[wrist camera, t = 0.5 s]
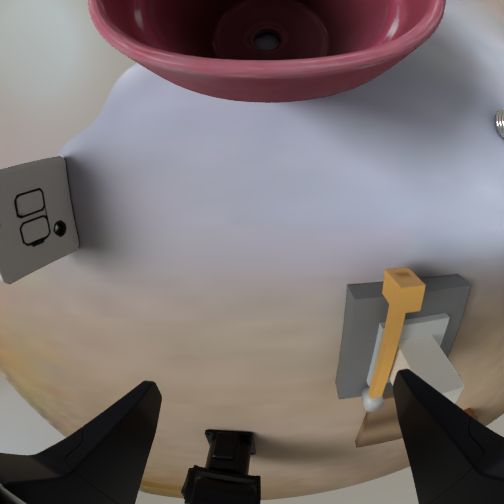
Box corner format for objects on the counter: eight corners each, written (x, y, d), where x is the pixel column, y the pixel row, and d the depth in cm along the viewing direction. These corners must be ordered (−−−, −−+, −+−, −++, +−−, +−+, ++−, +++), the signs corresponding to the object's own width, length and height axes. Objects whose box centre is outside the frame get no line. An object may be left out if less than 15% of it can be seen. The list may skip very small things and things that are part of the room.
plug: (418, 354, 24) (453, 421, 15) (361, 364, 25) (384, 442, 15) (434, 300, 22) (487, 365, 12) (371, 308, 22) (411, 388, 13)
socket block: (430, 366, 25) (437, 380, 22) (335, 382, 26) (338, 399, 24) (457, 274, 21) (471, 285, 18) (347, 284, 22) (354, 299, 20)
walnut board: (424, 425, 29) (426, 430, 28) (355, 441, 31) (356, 447, 29) (452, 374, 25) (456, 380, 24) (373, 393, 26) (375, 400, 25)
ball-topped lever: (377, 395, 23) (384, 417, 20) (359, 398, 23) (365, 420, 20) (408, 267, 18) (425, 285, 15) (385, 269, 18) (400, 287, 15)
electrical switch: (82, 248, 23) (13, 289, 14) (54, 249, 24) (-8, 284, 15) (67, 154, 20) (-13, 168, 11) (39, 165, 21) (-31, 182, 12)
